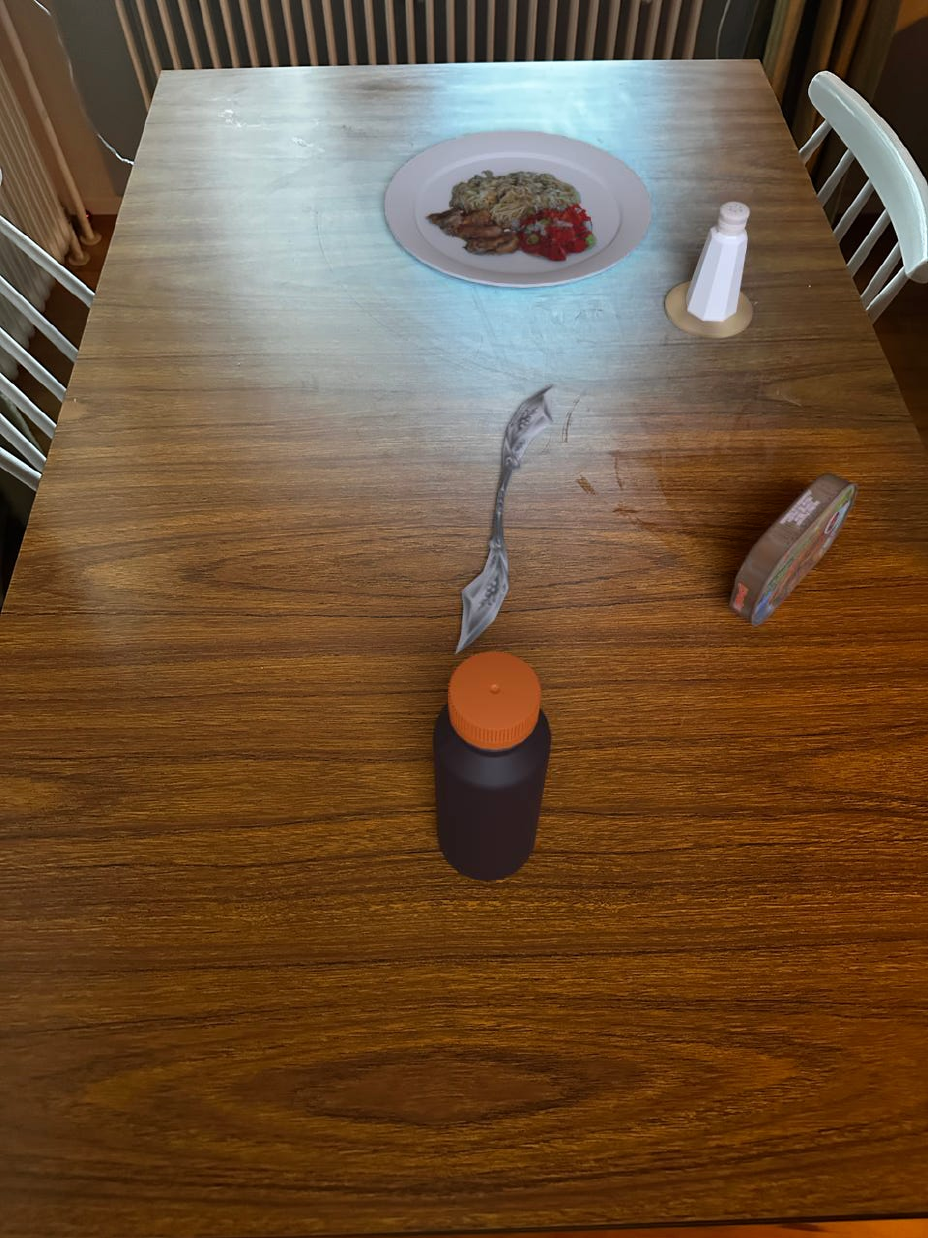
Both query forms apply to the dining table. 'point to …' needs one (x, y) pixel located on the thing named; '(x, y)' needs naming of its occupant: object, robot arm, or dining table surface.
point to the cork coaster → (706, 329)
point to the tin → (791, 547)
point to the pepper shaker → (720, 266)
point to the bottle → (490, 765)
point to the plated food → (518, 209)
